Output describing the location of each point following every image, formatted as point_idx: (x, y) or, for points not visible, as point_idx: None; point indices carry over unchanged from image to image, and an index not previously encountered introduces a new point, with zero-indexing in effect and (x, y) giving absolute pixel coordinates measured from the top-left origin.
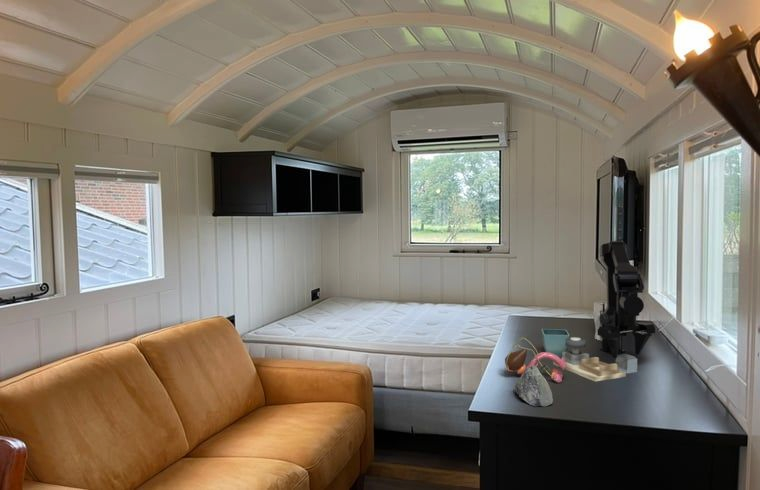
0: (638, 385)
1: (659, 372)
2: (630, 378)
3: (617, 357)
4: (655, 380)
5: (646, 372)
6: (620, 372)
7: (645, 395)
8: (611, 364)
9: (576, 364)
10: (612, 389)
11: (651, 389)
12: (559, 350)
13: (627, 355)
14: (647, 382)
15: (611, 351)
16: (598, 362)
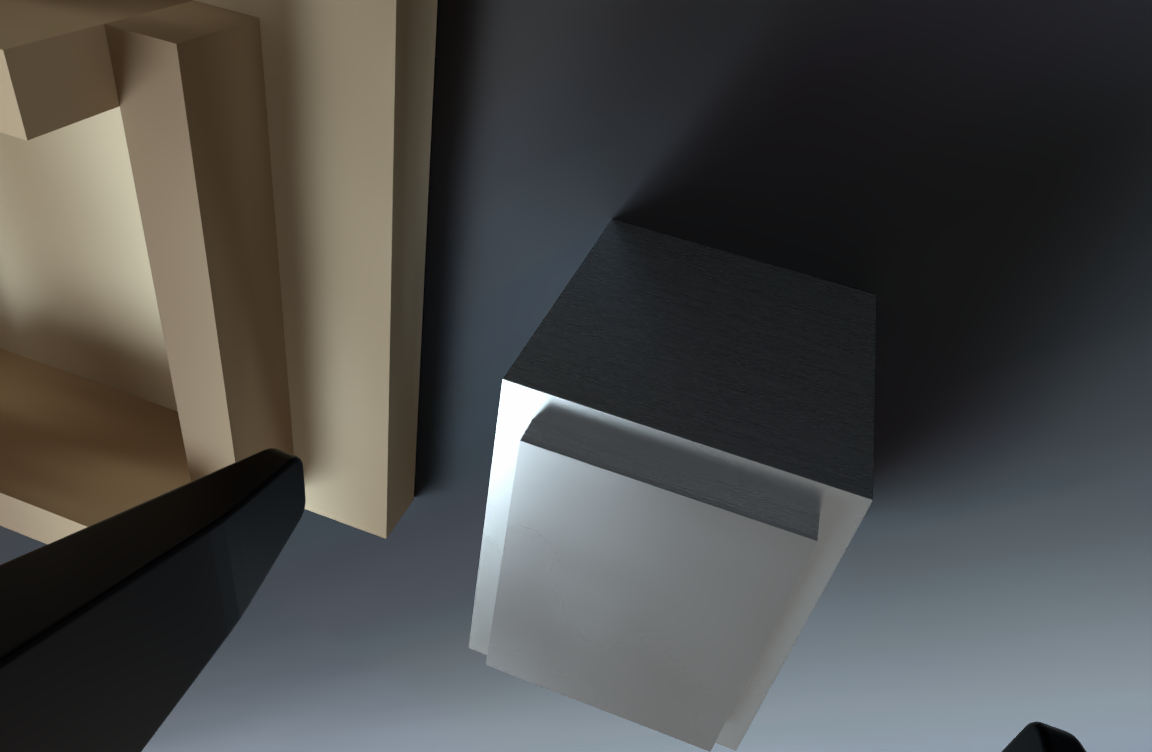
0: (310, 658)
1: (1006, 739)
2: (411, 553)
3: (510, 412)
4: (597, 740)
5: (851, 624)
6: (328, 485)
7: (194, 730)
8: (50, 532)
9: None
10: (23, 538)
11: (334, 743)
12: None
13: (676, 623)
14: (462, 697)
15: (112, 527)
16: (122, 101)
